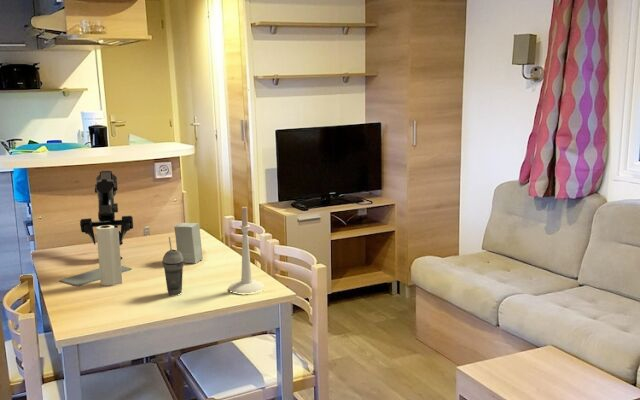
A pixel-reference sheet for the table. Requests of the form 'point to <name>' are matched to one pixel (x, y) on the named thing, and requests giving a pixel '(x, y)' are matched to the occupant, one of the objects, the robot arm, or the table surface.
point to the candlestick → (245, 263)
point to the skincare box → (189, 242)
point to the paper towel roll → (109, 255)
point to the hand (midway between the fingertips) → (107, 242)
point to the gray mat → (87, 277)
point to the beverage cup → (173, 270)
